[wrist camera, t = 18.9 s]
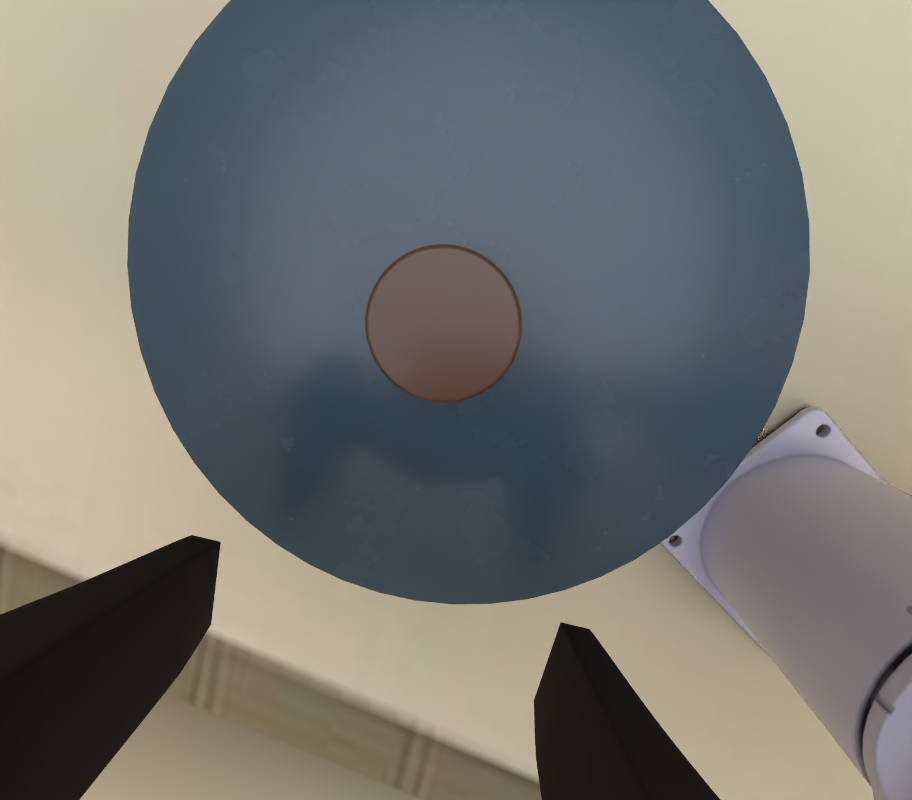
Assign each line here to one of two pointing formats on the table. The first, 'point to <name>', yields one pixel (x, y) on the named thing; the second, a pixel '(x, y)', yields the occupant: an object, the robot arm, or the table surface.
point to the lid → (468, 279)
